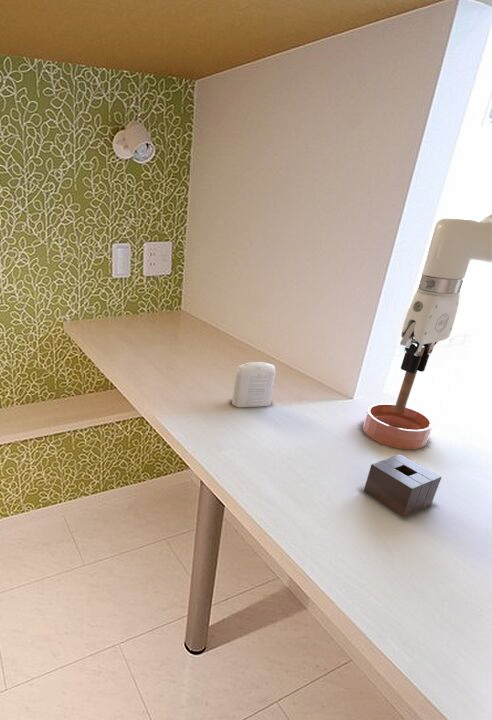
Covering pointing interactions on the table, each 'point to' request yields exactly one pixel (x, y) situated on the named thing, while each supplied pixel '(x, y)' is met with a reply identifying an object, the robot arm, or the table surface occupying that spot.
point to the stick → (406, 389)
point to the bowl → (394, 436)
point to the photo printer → (253, 384)
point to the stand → (402, 484)
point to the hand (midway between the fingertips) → (412, 369)
